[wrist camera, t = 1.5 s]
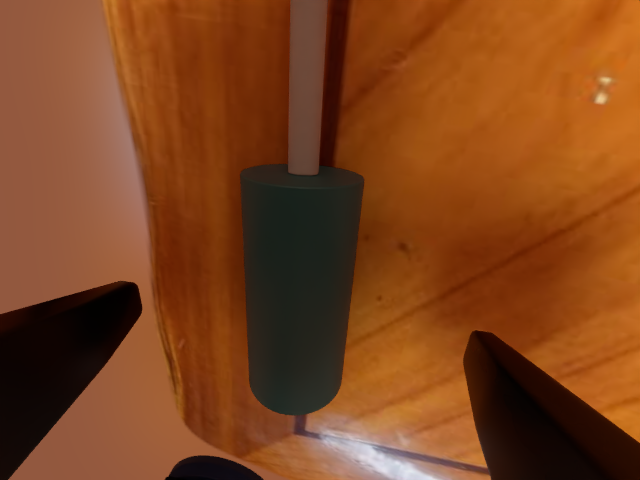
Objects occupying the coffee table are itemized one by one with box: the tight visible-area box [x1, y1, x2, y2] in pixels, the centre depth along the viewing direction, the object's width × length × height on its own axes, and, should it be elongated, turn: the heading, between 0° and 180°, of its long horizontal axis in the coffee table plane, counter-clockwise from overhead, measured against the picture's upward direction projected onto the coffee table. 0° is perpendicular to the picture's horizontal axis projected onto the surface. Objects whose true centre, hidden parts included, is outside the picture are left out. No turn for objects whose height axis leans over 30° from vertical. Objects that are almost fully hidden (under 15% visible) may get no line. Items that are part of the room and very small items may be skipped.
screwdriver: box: [240, 0, 364, 415], centre depth 8 cm, size 14×3×3 cm, turn 177°
